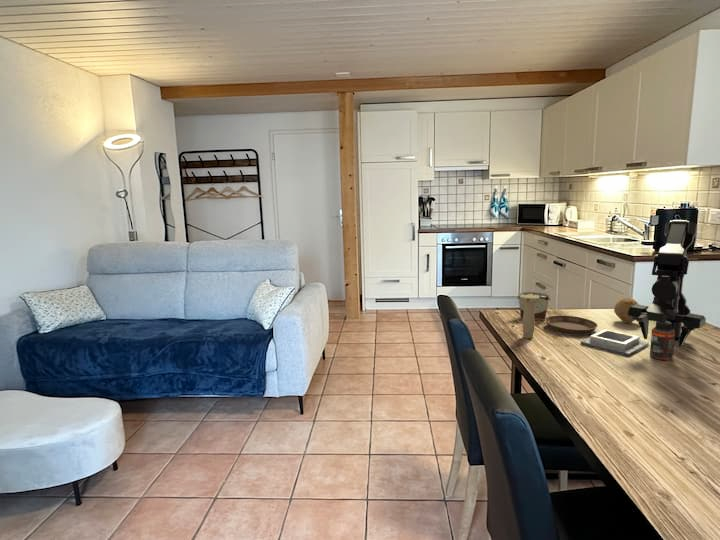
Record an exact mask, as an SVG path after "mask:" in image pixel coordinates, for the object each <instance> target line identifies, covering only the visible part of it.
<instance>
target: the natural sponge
mask: <svg viewBox="0 0 720 540" xmlns="http://www.w3.org/2000/svg"><path fill="white" fill-rule="evenodd" d="M636 304H638V305H640V304H639V302H638V301H636V300H635V299H634V298H632V297H630V296H629V297H628V296H625V297H623V298H622V297H621V298H620V299H619V300H618V301H617V302H616V303H615V305H614V309H613V311H614V313H615V315H616V316H617V318H618V319H619V320H621V321H622V322H623V323H625V324H630V323H633V322H634V321H636V320H635V319H633V318H632V317H633V316H628V309H629V308H630V307H631V306H634V305H636Z"/></svg>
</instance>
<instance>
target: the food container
mask: <svg viewBox="0 0 720 540" xmlns="http://www.w3.org/2000/svg"><path fill="white" fill-rule="evenodd" d="M520 295H535V296H539V297H540V298H539V301H538V302H536V303H535V305H534V316H535V320H542V321H543V320H544V321H545V319H546V318H547V312H548V307H549V301H551V298H550V295H549V294H548V293H547V294H546V293H545V292H535V291H524V292H523V291H522V292H520V293H519V294H518V295H517V299H518V303H519V314H520V315H519V316H520V319H523V314H524V302H523V301H521V300H520Z"/></svg>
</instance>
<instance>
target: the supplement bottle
mask: <svg viewBox="0 0 720 540" xmlns="http://www.w3.org/2000/svg"><path fill="white" fill-rule="evenodd" d="M671 327H672V323H671V322H669V321H666V322H664V323H660V322H658V321H655V326H654V327H652V329H651V335H650V344H649V346H650V347H649V356H650V357H651V358H653V359H655V360H659V361H660V360H661V361H671V360H673V358H674V352H675V351H674V349H675V341H676V340H675V331H674V330H673V329H672V328H671Z"/></svg>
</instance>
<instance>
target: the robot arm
mask: <svg viewBox="0 0 720 540" xmlns="http://www.w3.org/2000/svg"><path fill="white" fill-rule="evenodd" d="M697 234H698V224H697V223H694V222H690V221H689V220H687V219H685V220H684V219H673V220H669V222H667V223H665V226H664V236H665V237H666V242H665V245H664V246H661V247H660V248H659V250H658V251H657V254H655V255H654V258H653V265H652V270H651V276H657V277H656V281H655V282H654V283H653V284H652V286H651V294H652V295H653V301H652V303H651V304H650V305H649V306H648V305H642V304H639V303H638V304H639V305H638V304H636V305H634V306H631V307H630V308H629V309H628V316H633V317H632V318H633V319H635V321H636V322H637V323H638V325H639V327H640V330H641V333H642V336H643V339H644V340H647V339H648V334H649V325H650V322H652V321H653V322H656V321H658V322H660V323H664V322H666V321H669V322H671V323H672V327H671V328H672V329H673V330H674V331H675V341H676V342H677V341H678V347H679V348H681V347H683V345H684V344H685V342H686V339H687V338H688V336H689V335H690V334H691V332H692V331H695V330H696V329H701V328H702V327H704V326H705V325H706V320H707V319H706V317H705V315H701V314H697V313H696V314H695V313H691V309H689V308H690V307H689V305H687V298H686V297H685V295H684V293H683V287H684V286H683V284H684V277H685V275H687V274H688V269H689V264H690V260H689V259H688V256H687V250H688V248H689V247H690V246H691V245H692V244H693V242H694V238H696V237H697Z"/></svg>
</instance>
